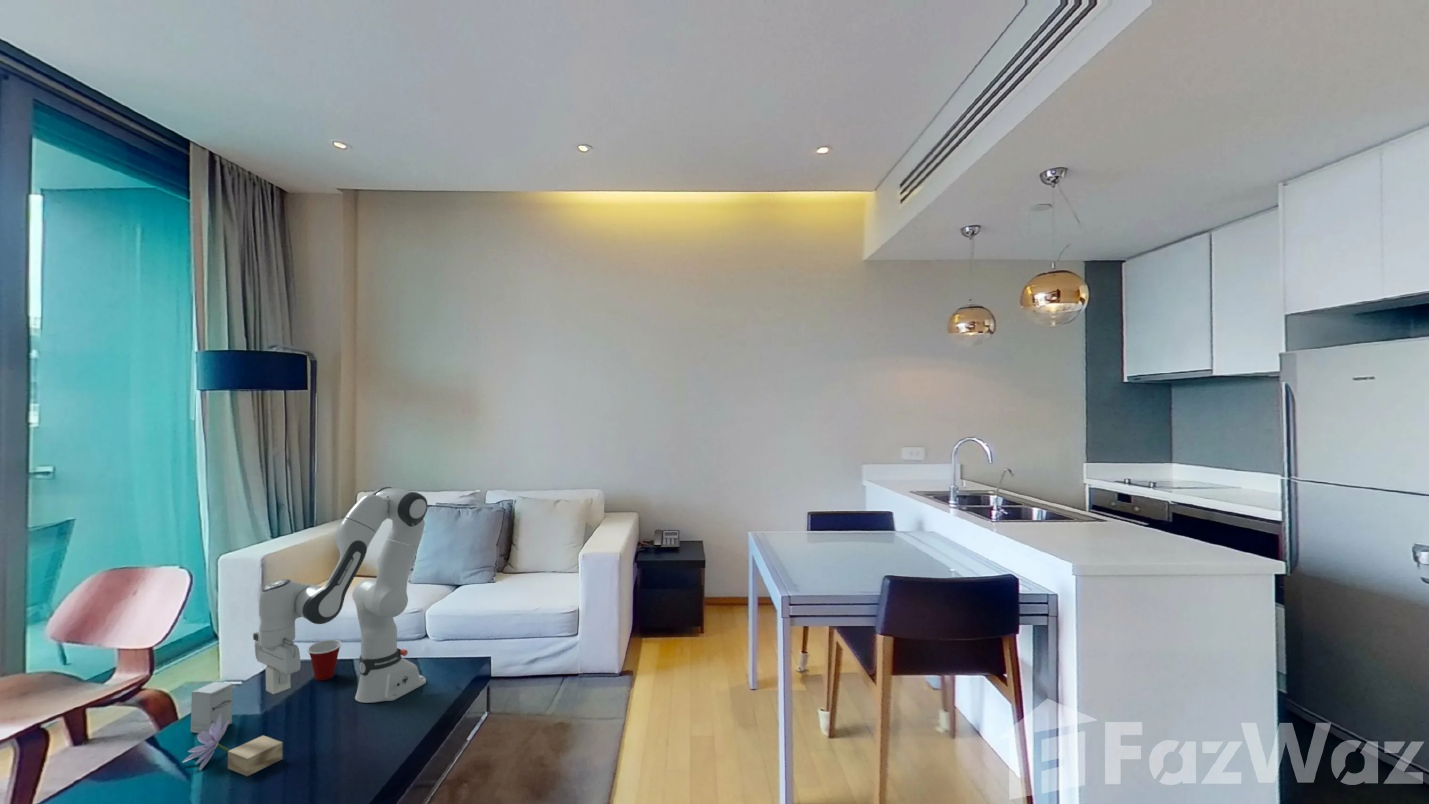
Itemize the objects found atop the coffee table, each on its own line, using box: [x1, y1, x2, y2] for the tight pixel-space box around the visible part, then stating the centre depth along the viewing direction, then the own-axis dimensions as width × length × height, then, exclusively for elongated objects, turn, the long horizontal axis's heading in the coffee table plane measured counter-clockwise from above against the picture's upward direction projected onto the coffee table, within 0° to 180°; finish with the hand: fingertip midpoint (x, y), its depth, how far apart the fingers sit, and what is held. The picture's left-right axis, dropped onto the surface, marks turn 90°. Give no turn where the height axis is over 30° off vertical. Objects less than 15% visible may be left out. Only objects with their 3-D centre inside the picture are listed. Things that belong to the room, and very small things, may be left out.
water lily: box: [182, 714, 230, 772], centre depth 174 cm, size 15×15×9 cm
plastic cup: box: [306, 639, 343, 681], centre depth 226 cm, size 11×11×12 cm
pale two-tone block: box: [265, 665, 291, 695], centre depth 183 cm, size 5×5×8 cm
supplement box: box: [190, 681, 234, 734], centre depth 190 cm, size 7×7×13 cm
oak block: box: [227, 735, 283, 777], centre depth 171 cm, size 9×9×5 cm
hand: (278, 681), depth 183 cm, fingers closed on pale two-tone block, 5 cm apart
